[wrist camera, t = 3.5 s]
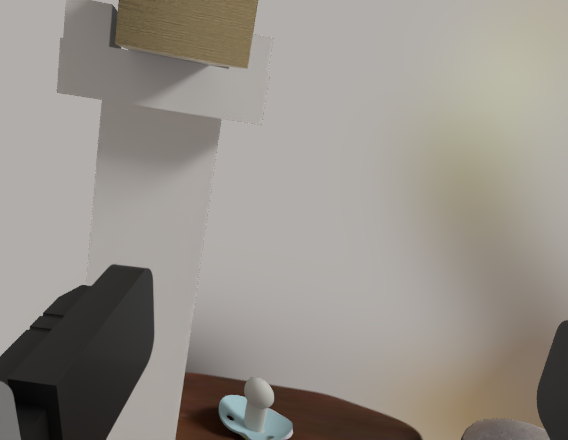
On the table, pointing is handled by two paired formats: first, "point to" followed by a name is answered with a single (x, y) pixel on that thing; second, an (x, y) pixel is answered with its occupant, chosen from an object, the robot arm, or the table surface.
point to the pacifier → (255, 413)
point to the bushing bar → (189, 29)
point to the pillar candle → (504, 430)
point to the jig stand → (154, 181)
